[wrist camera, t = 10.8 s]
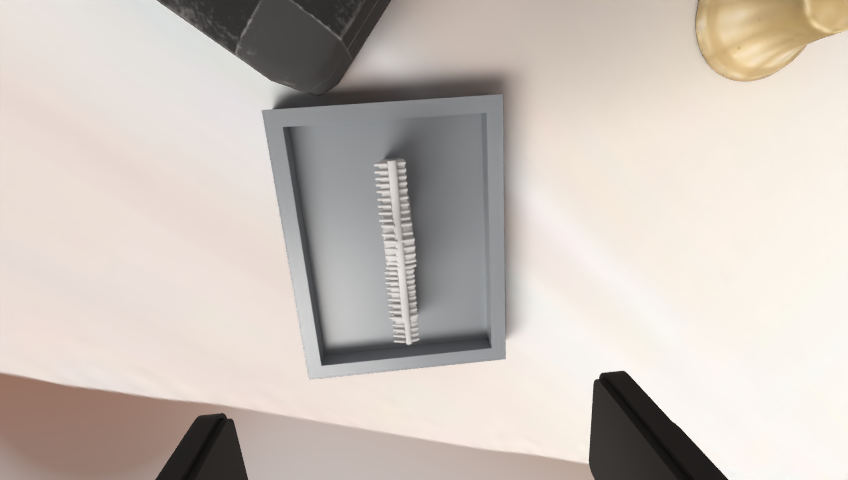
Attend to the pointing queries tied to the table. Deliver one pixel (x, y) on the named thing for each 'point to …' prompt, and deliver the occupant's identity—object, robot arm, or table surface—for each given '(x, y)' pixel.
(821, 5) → the hand bell
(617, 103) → the table surface
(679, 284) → the table surface
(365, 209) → the tray
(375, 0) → the cash box
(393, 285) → the white toothed rack
